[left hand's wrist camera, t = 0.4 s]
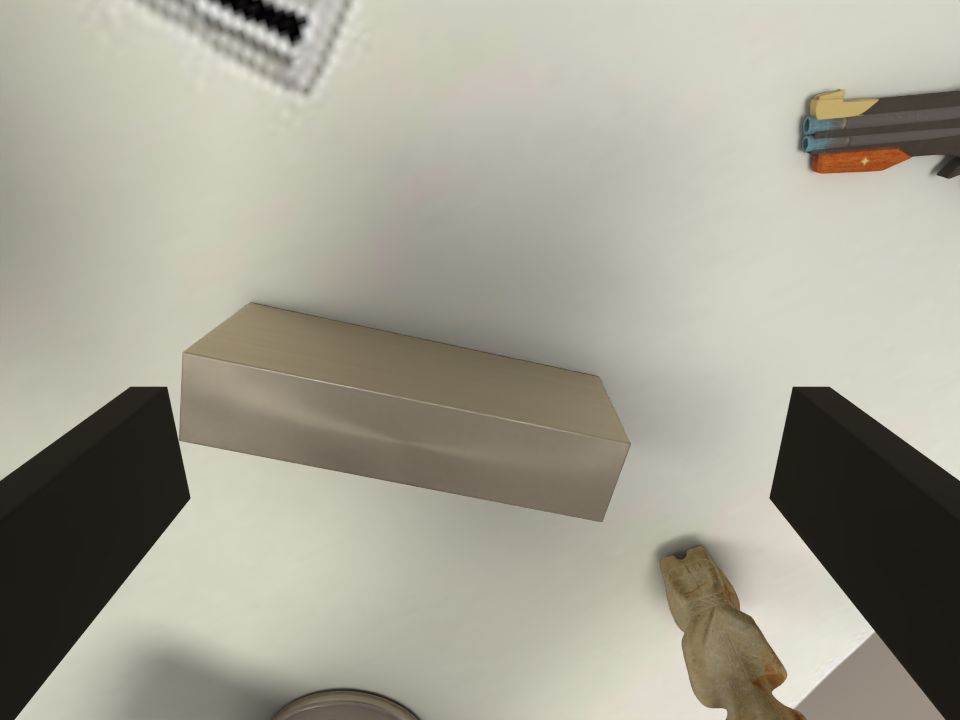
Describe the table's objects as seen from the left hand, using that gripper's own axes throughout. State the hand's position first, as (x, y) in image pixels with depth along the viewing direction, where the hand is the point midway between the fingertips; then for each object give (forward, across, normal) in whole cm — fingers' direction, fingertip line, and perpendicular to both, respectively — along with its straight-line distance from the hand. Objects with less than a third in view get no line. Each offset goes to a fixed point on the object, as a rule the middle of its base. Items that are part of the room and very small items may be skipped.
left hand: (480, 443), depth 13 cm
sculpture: (+26, -16, +26) cm, 40 cm away
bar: (+26, +4, +9) cm, 27 cm away
